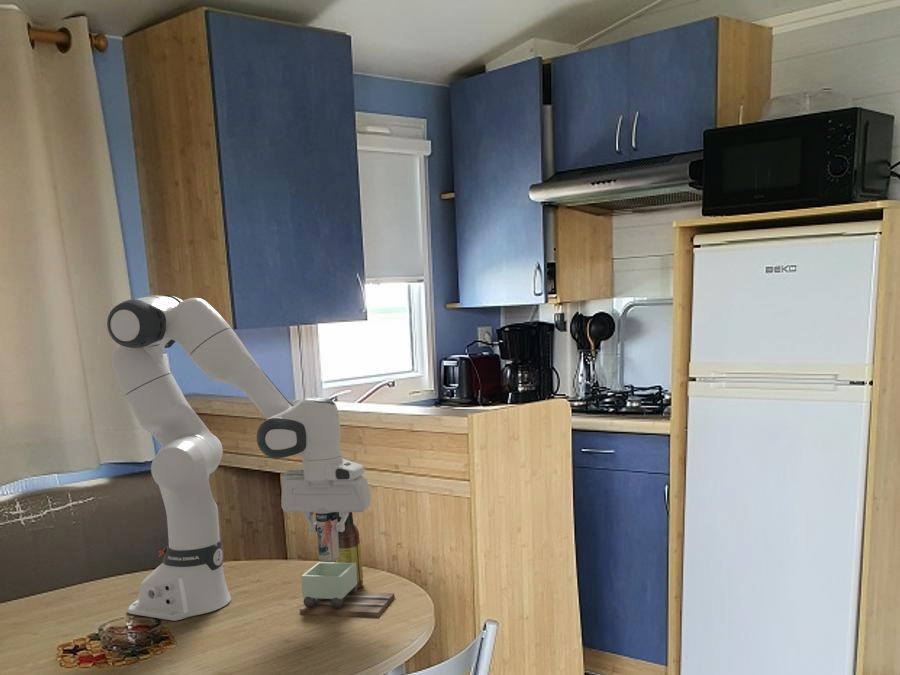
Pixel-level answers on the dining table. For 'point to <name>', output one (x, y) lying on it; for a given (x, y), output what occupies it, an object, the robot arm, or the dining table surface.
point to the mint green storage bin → (329, 582)
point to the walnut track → (352, 605)
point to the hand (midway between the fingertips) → (327, 531)
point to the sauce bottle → (350, 547)
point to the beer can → (327, 535)
